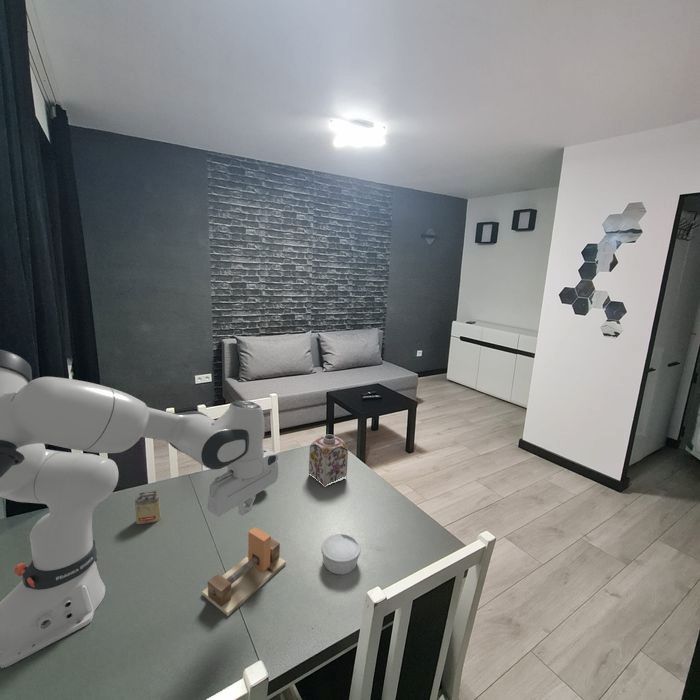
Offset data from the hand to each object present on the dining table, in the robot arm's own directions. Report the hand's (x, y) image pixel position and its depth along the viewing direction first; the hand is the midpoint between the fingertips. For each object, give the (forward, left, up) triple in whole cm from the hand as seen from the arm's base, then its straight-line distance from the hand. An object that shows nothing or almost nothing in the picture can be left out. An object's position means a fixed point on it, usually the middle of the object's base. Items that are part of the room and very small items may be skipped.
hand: (245, 512), depth 93 cm
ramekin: (+20, -17, -21) cm, 34 cm away
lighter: (-3, +43, -20) cm, 48 cm away
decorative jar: (+54, +13, -20) cm, 59 cm away
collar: (+5, 0, -19) cm, 19 cm away
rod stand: (0, 0, -20) cm, 20 cm away
